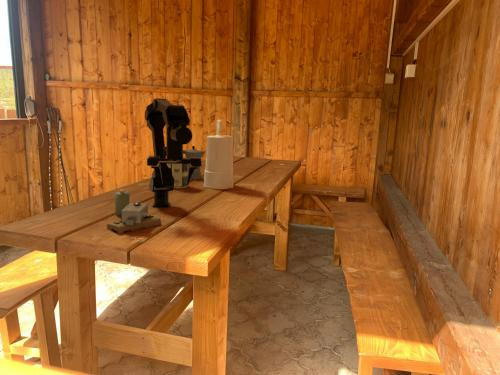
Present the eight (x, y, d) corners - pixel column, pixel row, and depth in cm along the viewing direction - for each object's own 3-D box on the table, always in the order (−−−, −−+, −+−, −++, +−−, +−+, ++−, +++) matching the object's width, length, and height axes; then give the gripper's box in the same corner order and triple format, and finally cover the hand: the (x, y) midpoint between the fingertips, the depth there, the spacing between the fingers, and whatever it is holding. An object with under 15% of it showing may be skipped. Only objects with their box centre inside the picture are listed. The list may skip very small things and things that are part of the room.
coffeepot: (204, 176, 223) (204, 145, 219) (205, 179, 214) (206, 147, 210) (176, 176, 220) (176, 144, 216) (177, 179, 211) (177, 146, 207)
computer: (148, 221, 138) (148, 212, 137) (161, 226, 132) (161, 217, 132) (106, 230, 127) (106, 220, 126) (118, 236, 121) (118, 226, 121)
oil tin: (116, 212, 144) (116, 188, 143) (130, 212, 145) (130, 188, 143) (114, 216, 140) (113, 191, 138) (128, 216, 140) (128, 191, 138)
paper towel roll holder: (237, 188, 194) (239, 121, 187) (208, 189, 189) (209, 120, 182) (227, 182, 208) (229, 119, 201) (200, 183, 202) (201, 118, 196)
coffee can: (182, 183, 200) (182, 156, 198) (191, 187, 192) (191, 159, 189) (163, 185, 195) (163, 157, 192) (171, 189, 186) (171, 160, 184)
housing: (139, 225, 122) (138, 211, 122) (120, 224, 122) (119, 210, 121) (149, 212, 136) (149, 200, 135) (132, 212, 136) (131, 199, 135)
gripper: (200, 140, 145) (200, 180, 148) (149, 138, 142) (150, 180, 145) (201, 143, 134) (201, 187, 137) (146, 141, 131) (147, 186, 135)
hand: (174, 185), depth 139 cm, fingers open, 9 cm apart
